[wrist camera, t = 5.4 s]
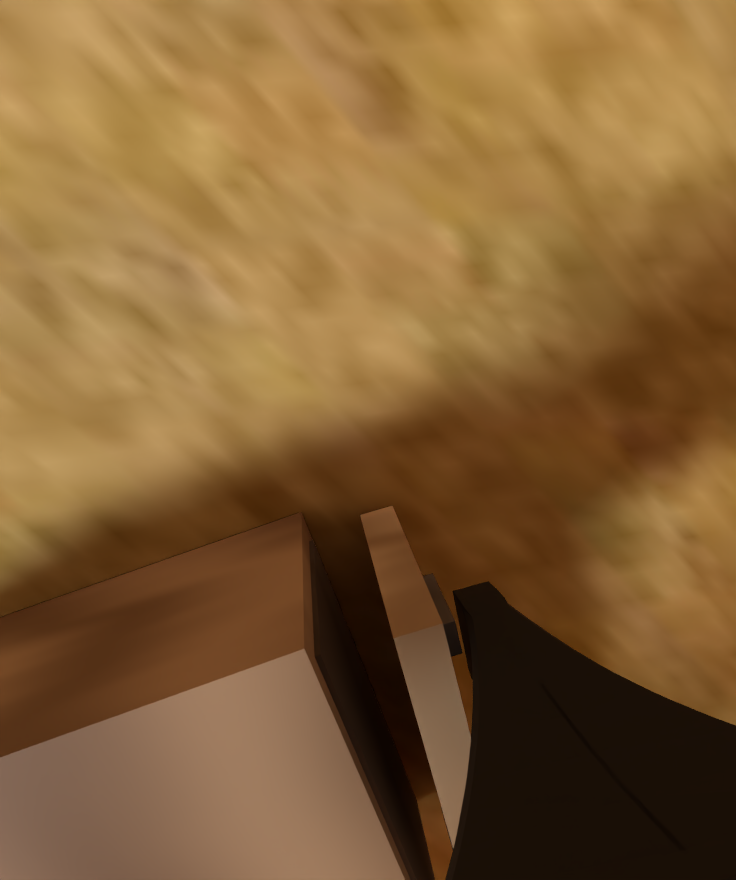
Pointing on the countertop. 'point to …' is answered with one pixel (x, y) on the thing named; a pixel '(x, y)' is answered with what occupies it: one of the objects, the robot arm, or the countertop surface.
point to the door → (424, 657)
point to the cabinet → (200, 728)
